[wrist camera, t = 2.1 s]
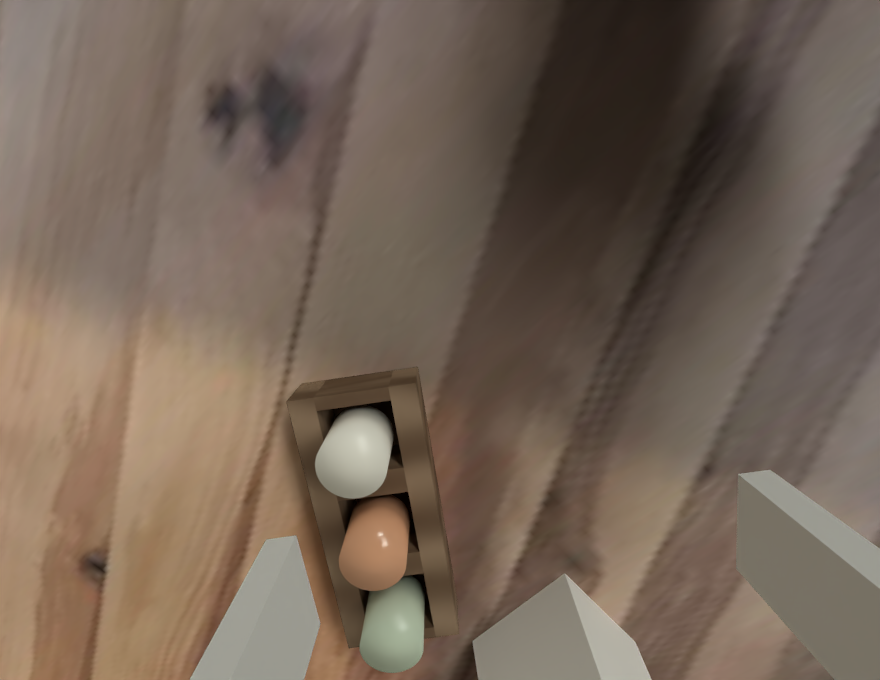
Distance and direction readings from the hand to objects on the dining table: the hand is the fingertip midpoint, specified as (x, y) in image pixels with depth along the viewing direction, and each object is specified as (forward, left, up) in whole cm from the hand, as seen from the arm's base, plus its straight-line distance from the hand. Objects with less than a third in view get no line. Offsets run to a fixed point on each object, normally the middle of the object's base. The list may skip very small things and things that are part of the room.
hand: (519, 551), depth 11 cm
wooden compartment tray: (+15, -9, -26) cm, 31 cm away
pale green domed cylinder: (+23, -9, -23) cm, 34 cm away
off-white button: (+7, -9, -23) cm, 26 cm away
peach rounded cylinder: (+15, -9, -23) cm, 29 cm away
